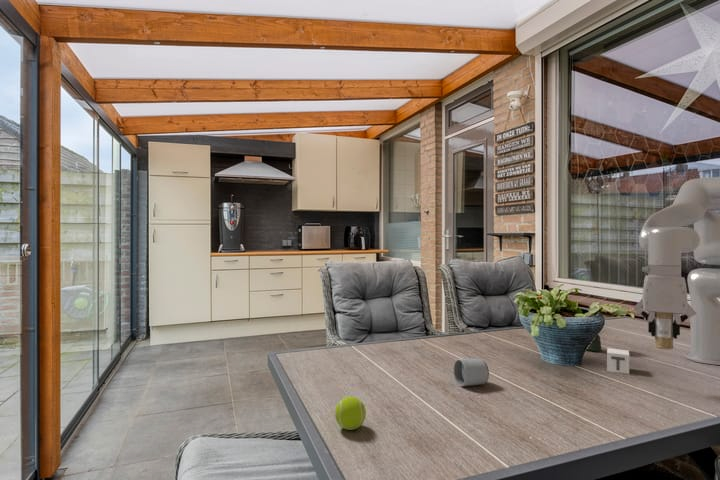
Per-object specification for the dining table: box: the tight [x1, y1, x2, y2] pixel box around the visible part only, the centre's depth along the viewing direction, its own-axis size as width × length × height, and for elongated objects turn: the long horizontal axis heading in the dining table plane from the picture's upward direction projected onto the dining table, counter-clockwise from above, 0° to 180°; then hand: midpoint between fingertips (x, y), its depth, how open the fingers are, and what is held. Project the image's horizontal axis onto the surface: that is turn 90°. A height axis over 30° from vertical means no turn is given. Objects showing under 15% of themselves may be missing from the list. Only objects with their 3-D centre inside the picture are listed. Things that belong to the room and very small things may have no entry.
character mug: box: [587, 329, 604, 352], centre depth 161 cm, size 11×7×13 cm, turn 116°
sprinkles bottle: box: [653, 312, 674, 350], centre depth 120 cm, size 5×5×14 cm
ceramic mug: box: [453, 358, 490, 387], centre depth 127 cm, size 11×8×8 cm
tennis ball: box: [334, 396, 367, 431], centre depth 97 cm, size 7×7×7 cm
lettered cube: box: [606, 347, 630, 375], centre depth 138 cm, size 6×6×6 cm
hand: (663, 335), depth 120 cm, fingers closed on sprinkles bottle, 4 cm apart
